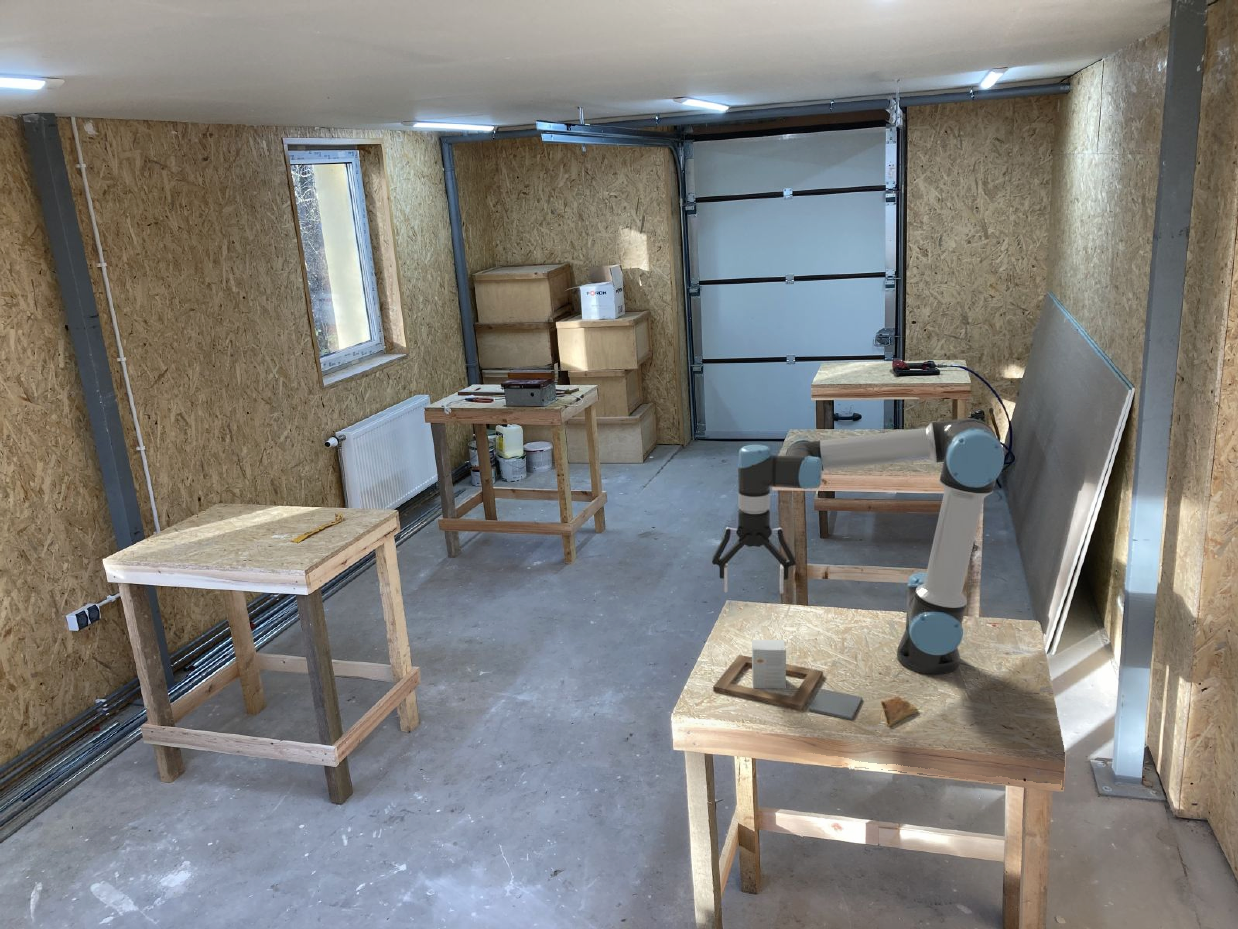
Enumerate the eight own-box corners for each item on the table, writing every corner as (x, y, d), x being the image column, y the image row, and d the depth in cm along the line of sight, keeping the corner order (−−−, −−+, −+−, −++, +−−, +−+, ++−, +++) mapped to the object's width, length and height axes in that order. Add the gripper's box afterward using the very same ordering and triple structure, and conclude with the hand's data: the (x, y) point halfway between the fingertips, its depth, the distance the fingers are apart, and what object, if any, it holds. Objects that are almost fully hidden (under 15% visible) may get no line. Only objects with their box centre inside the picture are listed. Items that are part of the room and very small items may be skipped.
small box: (784, 678, 234) (785, 639, 231) (786, 689, 229) (786, 650, 226) (751, 677, 235) (752, 638, 232) (752, 688, 230) (752, 649, 227)
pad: (862, 699, 223) (862, 697, 223) (851, 720, 214) (851, 717, 214) (820, 690, 227) (820, 688, 227) (808, 710, 219) (808, 708, 219)
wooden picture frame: (822, 675, 235) (822, 671, 234) (801, 710, 219) (801, 705, 219) (739, 659, 244) (739, 654, 244) (713, 690, 229) (713, 686, 229)
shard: (887, 730, 211) (888, 722, 211) (861, 716, 217) (861, 709, 217) (919, 714, 217) (919, 707, 216) (892, 700, 223) (892, 694, 222)
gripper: (805, 504, 229) (804, 585, 235) (702, 503, 232) (703, 583, 238) (807, 514, 222) (806, 597, 228) (701, 513, 225) (702, 595, 231)
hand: (753, 590), depth 233 cm, fingers open, 13 cm apart
